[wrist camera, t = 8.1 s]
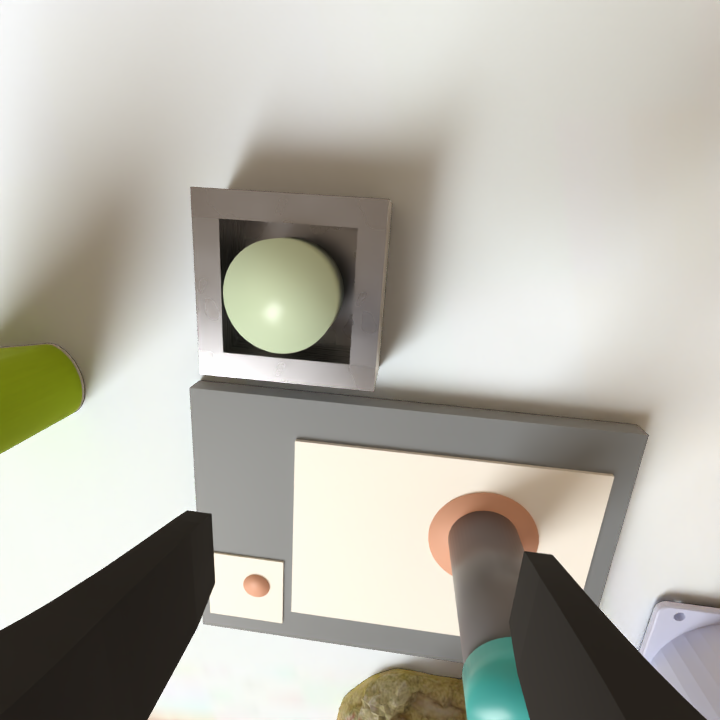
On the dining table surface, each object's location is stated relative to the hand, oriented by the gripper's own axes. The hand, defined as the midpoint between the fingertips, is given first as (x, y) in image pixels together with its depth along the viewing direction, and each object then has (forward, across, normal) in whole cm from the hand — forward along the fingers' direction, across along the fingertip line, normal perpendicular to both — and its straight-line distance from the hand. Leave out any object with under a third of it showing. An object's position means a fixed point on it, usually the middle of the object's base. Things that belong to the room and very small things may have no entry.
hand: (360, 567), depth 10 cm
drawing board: (+10, -1, +7) cm, 13 cm away
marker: (+9, -5, +6) cm, 12 cm away
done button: (+9, +4, -5) cm, 11 cm away
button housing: (+11, +4, -5) cm, 12 cm away
